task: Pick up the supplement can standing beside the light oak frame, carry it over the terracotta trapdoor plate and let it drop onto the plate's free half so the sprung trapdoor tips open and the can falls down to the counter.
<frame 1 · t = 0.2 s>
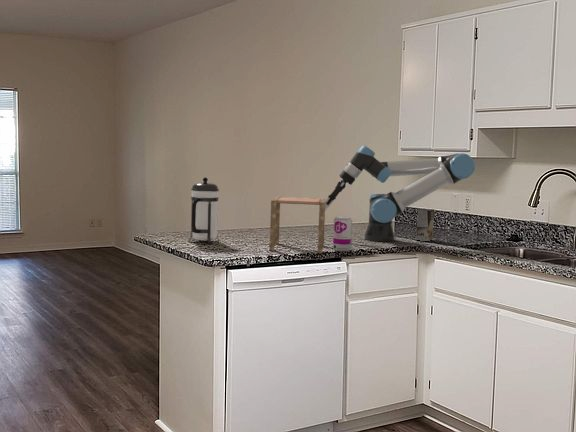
hand: (323, 208, 336), 16 cm above the worktop, tool tilted 35°, fingers open, 13 cm apart
coffee box: (424, 241, 352), on the worktop
coffee press: (203, 242, 320), on the worktop
trapdoor: (299, 202, 310), point 21 cm above the worktop, hinge at 0.0°
trapdoor frame: (297, 248, 312), on the worktop
supplement can: (341, 250, 310), on the worktop
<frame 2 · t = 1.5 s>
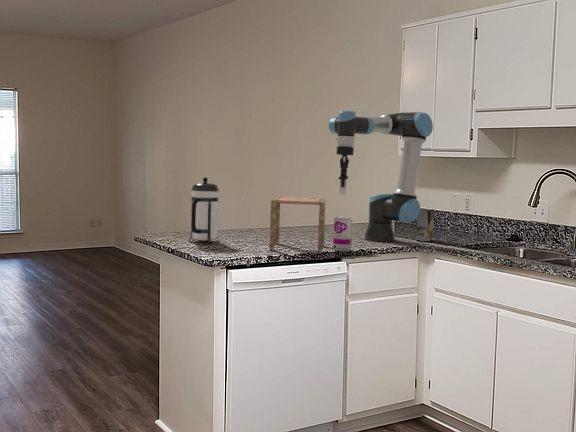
hand: (342, 193, 308), 25 cm above the worktop, tool pointing down, fingers open, 13 cm apart
nothing on the worktop moved.
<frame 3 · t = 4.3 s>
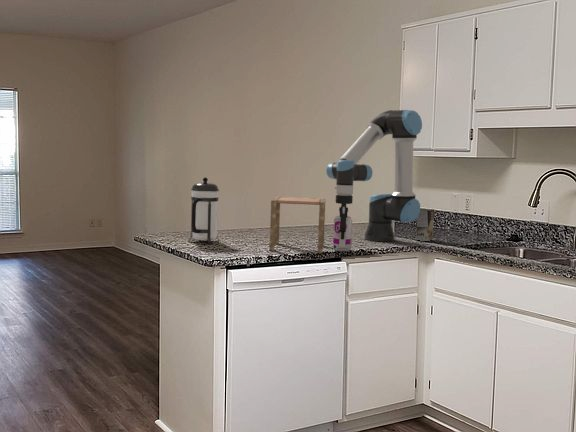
hand: (342, 244, 310), 2 cm above the worktop, tool pointing down, fingers closed on supplement can, 8 cm apart
supplement can: (341, 250, 310), on the worktop, touching gripper
everything else where it was.
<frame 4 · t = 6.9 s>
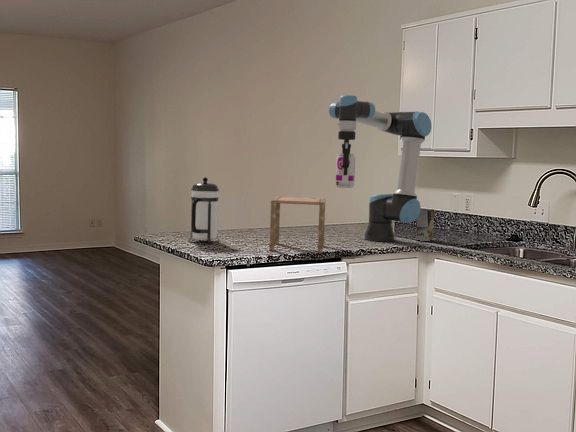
hand: (345, 182, 307), 31 cm above the worktop, tool pointing down, fingers closed on supplement can, 8 cm apart
supplement can: (344, 187, 307), point 28 cm above the worktop, touching gripper
everything else where it was.
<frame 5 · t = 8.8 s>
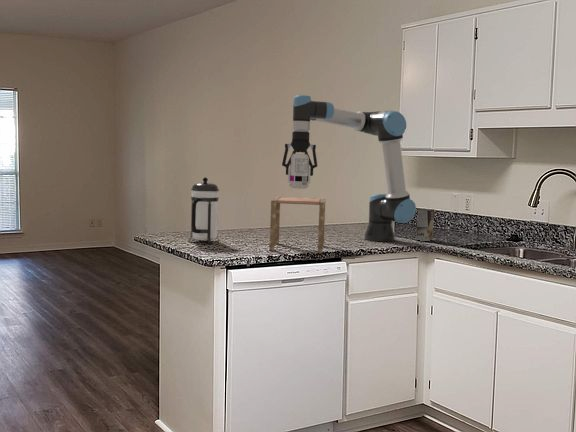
hand: (299, 182, 305), 30 cm above the worktop, tool pointing down, fingers closed on supplement can, 8 cm apart
supplement can: (298, 188, 305), point 27 cm above the worktop, touching gripper
everything else where it was.
when the fingers open (27 cm above the worktop, at t = 9.6 s): supplement can drops 21 cm, point 4 cm above the worktop.
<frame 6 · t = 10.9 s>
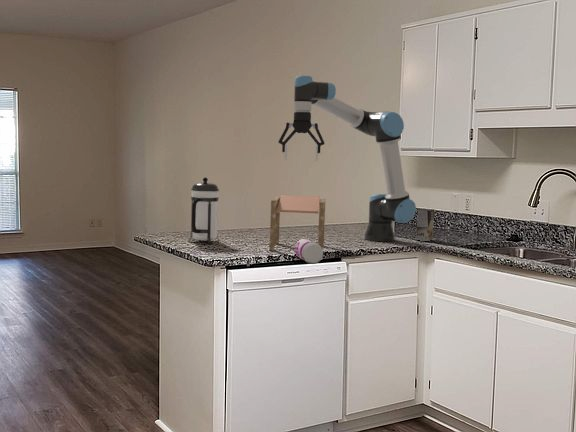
hand: (300, 160, 304), 40 cm above the worktop, tool pointing down, fingers open, 13 cm apart
trapdoor: (299, 205, 310), point 19 cm above the worktop, hinge at -17.3°
supplement can: (314, 254, 270), point 4 cm above the worktop
everything else where it was.
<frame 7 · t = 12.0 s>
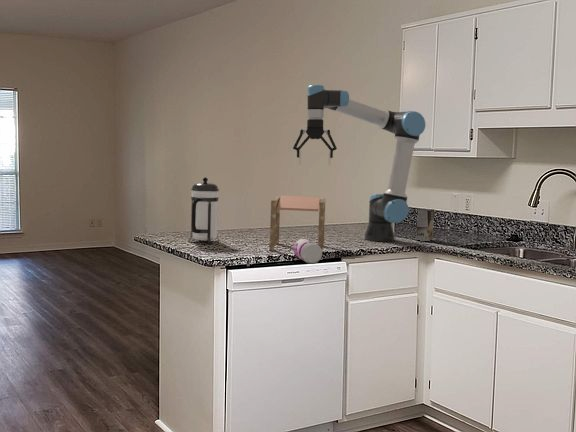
hand: (314, 165, 322), 37 cm above the worktop, tool pointing down, fingers open, 13 cm apart
trapdoor: (299, 204, 310), point 20 cm above the worktop, hinge at -13.1°
everything else where it was.
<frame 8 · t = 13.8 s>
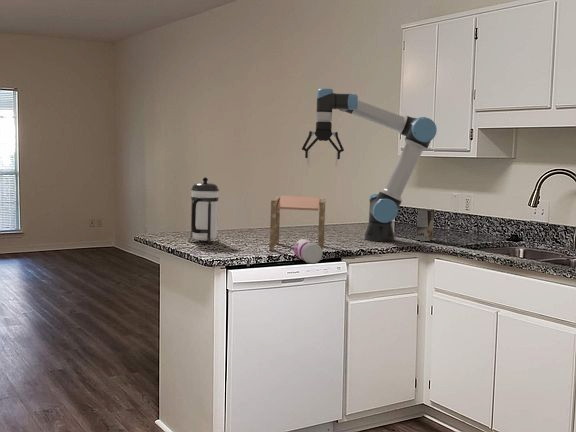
hand: (322, 165, 333), 37 cm above the worktop, tool pointing down, fingers open, 13 cm apart
trapdoor: (299, 204, 310), point 20 cm above the worktop, hinge at -11.7°
everything else where it was.
at the end: supplement can point 4.0 cm above the worktop; the gripper is holding nothing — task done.
